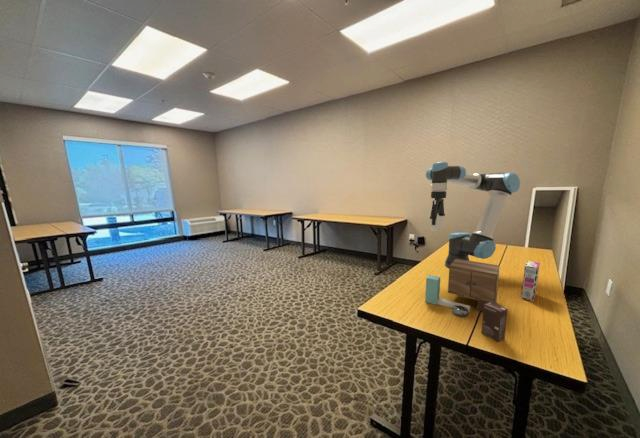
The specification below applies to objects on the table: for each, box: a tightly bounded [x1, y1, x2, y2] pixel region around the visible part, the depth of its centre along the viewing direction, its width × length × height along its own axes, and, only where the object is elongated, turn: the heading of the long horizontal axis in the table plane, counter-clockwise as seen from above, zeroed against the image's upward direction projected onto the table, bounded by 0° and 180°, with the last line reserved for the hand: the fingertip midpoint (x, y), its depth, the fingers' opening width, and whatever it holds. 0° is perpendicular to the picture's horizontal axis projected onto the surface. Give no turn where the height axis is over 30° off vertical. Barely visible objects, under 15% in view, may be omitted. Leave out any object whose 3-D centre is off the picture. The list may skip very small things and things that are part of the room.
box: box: [481, 302, 509, 343], centre depth 88 cm, size 6×4×12 cm
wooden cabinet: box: [447, 259, 500, 313], centre depth 113 cm, size 15×18×18 cm
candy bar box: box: [520, 260, 541, 302], centre depth 119 cm, size 11×5×16 cm, turn 135°
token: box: [451, 306, 469, 318], centre depth 105 cm, size 6×6×2 cm
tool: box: [424, 274, 471, 313], centre depth 112 cm, size 5×18×12 cm, turn 52°
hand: (437, 228), depth 136 cm, fingers open, 13 cm apart
